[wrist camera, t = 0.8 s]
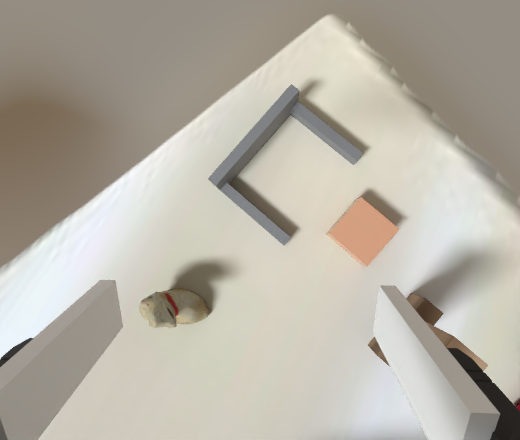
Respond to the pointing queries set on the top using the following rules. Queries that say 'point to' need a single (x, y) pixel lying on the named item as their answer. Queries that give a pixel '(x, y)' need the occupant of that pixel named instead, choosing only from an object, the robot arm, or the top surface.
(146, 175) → the top surface
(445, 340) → the stepped wooden beam
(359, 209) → the salmon square block
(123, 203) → the top surface
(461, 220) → the top surface
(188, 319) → the tan bunny-shaped figure
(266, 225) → the frame
